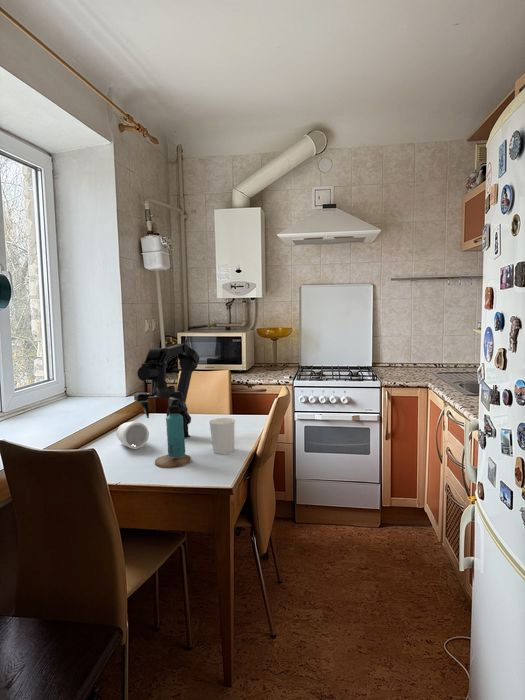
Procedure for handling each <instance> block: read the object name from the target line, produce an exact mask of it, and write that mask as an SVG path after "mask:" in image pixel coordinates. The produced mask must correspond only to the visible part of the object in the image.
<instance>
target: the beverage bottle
mask: <svg viewBox="0 0 525 700" xmlns="http://www.w3.org/2000/svg"><path fill="white" fill-rule="evenodd" d="M167 409H168V412H170V413H174V412H179V411H180V409H179V406H178V405H172V406H169V407H168V406H167ZM165 420H166V436H167V437H166V438H167V446H166V447H167V452H168V453H167V455H169V456H170V457H180V456H183V455H185V454H186V441H185V438H184V437H185V436H184V428H183V416H181V415H180V414H170V415H168V416H167V415H166V418H165Z"/></svg>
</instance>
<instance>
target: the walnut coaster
mask: <svg viewBox="0 0 525 700" xmlns="http://www.w3.org/2000/svg"><path fill="white" fill-rule="evenodd" d="M191 461H192V460H191V456H190V455H188V454H186V453H185V455H183V456H180V457H170V456H169V455H168V454H164V455H161V456H158V457H157V458H155V459H154V466H156V467H158V468H162V469H171V468H172V469H173V468H180V467H182V466H186V465H188V464H189V463H191Z"/></svg>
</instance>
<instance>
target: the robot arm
mask: <svg viewBox="0 0 525 700" xmlns="http://www.w3.org/2000/svg"><path fill="white" fill-rule="evenodd" d="M174 356H176V358H177V360H178V361H179V364H178V365H179V368H180V369H181V370H180V374H179V378H178V384H177V388H175V385H169V386H168V383H167V379H166V375H167V372H166V368H168V367H169V365H168V364H167V363H166V362H168V361H169V360H170V359H171V357H174ZM199 362H200V356H199V354H198V352H196V350H194V349H193V348H191V347H190V346H189V345H188V343H176V344H175V345H171V346H167V347H164V348H163V347H162V348H161V347H160V348H159V347H158V348H157V347H155V348H153V347H152V348H150V349H149V350H148V352H147V354H146V358H145V360H144V362H143V363H142V362H141V366H140V367H138V370H137V373H136V374H137V377H138V379H139V380H140V381H143V382H146V381H150V385H151V386H150V387H151V391H150V394H148V393H145V392H139V393H138V392H136V393H134V395H133V396H134V397H133V400H134V402H135V401H136V402H137V403H139V404H140V405H141V407H142V408H143V412H144V414H145V416H146V419H149V418H150V414H149V413H150V411H149V403H150V402H149V401H148V400H154V399H160V400H163V399H167V400H168V401H167V402H168V403H167V404H168V405H167V409H166V417H167V416H168V415H170V414H180V415H181V416H183V428H184V436H185V437H184V439H187V438H190V437H191V435H190V434H189V425H190V423H192V417H191V415H190V414H189V413H188V406H187V403H186V402H187V397H188V392H189V389H190V384H191V379H192V375H193V373H194V371H195V370H196V369H197V367H198V365H199ZM172 405H178V406H179V409H180V411H179V412H174V413H170V412H168V407H169V406H172Z"/></svg>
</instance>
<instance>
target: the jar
mask: <svg viewBox="0 0 525 700" xmlns="http://www.w3.org/2000/svg"><path fill="white" fill-rule="evenodd" d="M149 436H150V432H149V429H148V427H147V426H146V425H145V424H144V423H142V422H138V421H128V422H123V423H122V424H121V423H120V425H119V426H118V428H117V431H116V437H117V440H119V442H120V443H121V444H122V445H123V446H125V447H128V448H129V449H134V450H136V449H141V448H142V447H144V446H145V445H146V443H147V442H148V440H149V438H150V437H149ZM132 444H134V445H136V447H134V446H131V445H132Z"/></svg>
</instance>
